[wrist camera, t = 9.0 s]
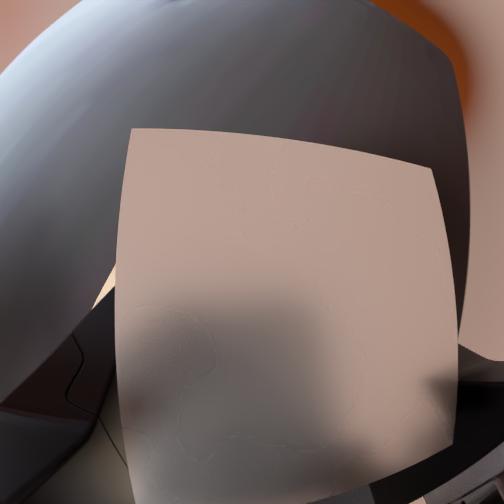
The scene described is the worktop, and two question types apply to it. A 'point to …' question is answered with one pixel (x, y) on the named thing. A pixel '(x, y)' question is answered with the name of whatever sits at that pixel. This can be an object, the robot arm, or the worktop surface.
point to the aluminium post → (278, 318)
